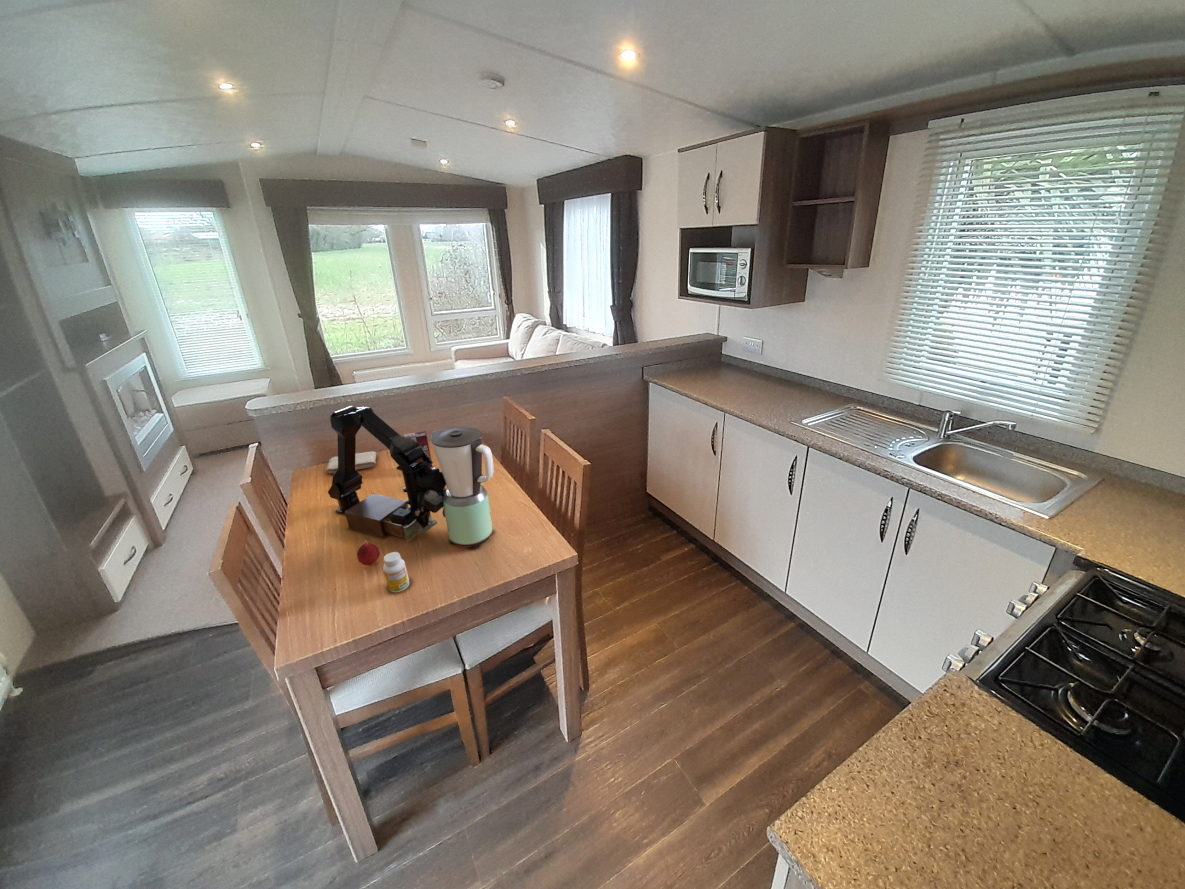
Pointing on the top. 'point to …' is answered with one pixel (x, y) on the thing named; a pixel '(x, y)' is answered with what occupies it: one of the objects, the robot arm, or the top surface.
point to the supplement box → (420, 442)
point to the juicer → (464, 484)
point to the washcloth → (360, 461)
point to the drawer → (406, 527)
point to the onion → (368, 553)
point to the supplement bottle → (395, 572)
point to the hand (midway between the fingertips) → (425, 527)
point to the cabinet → (372, 514)
